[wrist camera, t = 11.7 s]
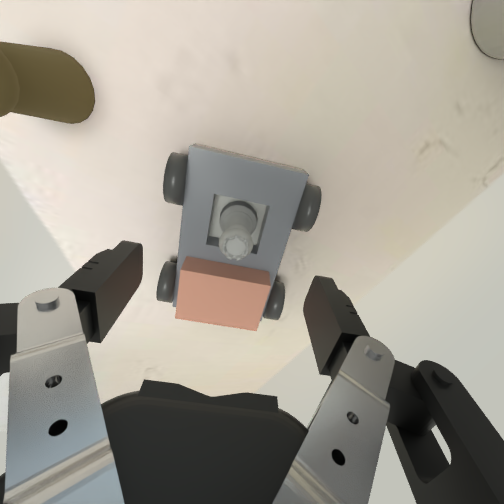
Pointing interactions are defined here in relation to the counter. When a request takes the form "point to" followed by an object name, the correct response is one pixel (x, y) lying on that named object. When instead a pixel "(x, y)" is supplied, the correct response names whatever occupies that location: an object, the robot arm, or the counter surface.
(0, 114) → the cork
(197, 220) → the toy truck
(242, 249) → the rook chess piece
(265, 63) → the counter surface
